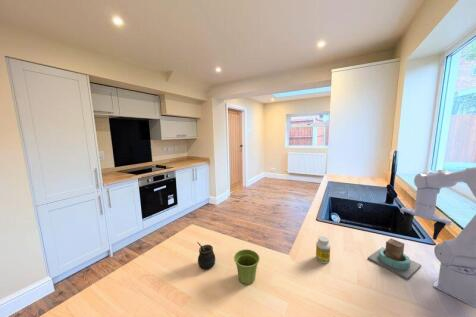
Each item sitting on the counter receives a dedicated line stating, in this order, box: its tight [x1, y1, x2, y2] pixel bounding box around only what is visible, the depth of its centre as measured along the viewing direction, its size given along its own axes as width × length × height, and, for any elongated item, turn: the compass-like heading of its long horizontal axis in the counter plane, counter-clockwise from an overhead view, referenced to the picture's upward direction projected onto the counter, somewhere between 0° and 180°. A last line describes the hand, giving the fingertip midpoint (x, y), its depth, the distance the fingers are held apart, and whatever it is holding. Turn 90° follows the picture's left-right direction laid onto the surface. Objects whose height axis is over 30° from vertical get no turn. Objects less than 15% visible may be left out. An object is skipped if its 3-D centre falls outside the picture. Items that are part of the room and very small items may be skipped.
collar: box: [367, 247, 422, 281], centre depth 74 cm, size 13×13×3 cm
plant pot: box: [233, 248, 261, 286], centre depth 67 cm, size 9×9×9 cm
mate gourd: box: [197, 241, 216, 271], centre depth 74 cm, size 7×8×10 cm
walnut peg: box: [385, 238, 405, 261], centre depth 73 cm, size 4×4×8 cm
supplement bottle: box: [315, 235, 331, 264], centre depth 76 cm, size 5×5×10 cm
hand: (421, 234), depth 75 cm, fingers open, 7 cm apart
